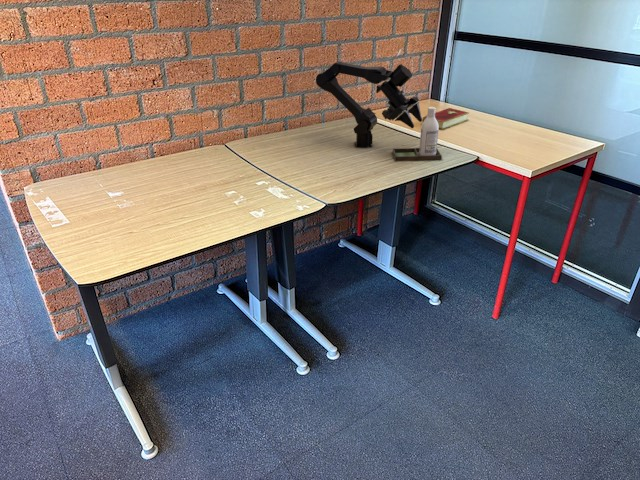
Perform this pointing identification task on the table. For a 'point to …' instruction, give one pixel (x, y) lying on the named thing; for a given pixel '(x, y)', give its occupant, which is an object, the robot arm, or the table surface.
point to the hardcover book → (449, 117)
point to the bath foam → (429, 134)
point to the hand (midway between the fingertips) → (417, 124)
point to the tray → (413, 155)
